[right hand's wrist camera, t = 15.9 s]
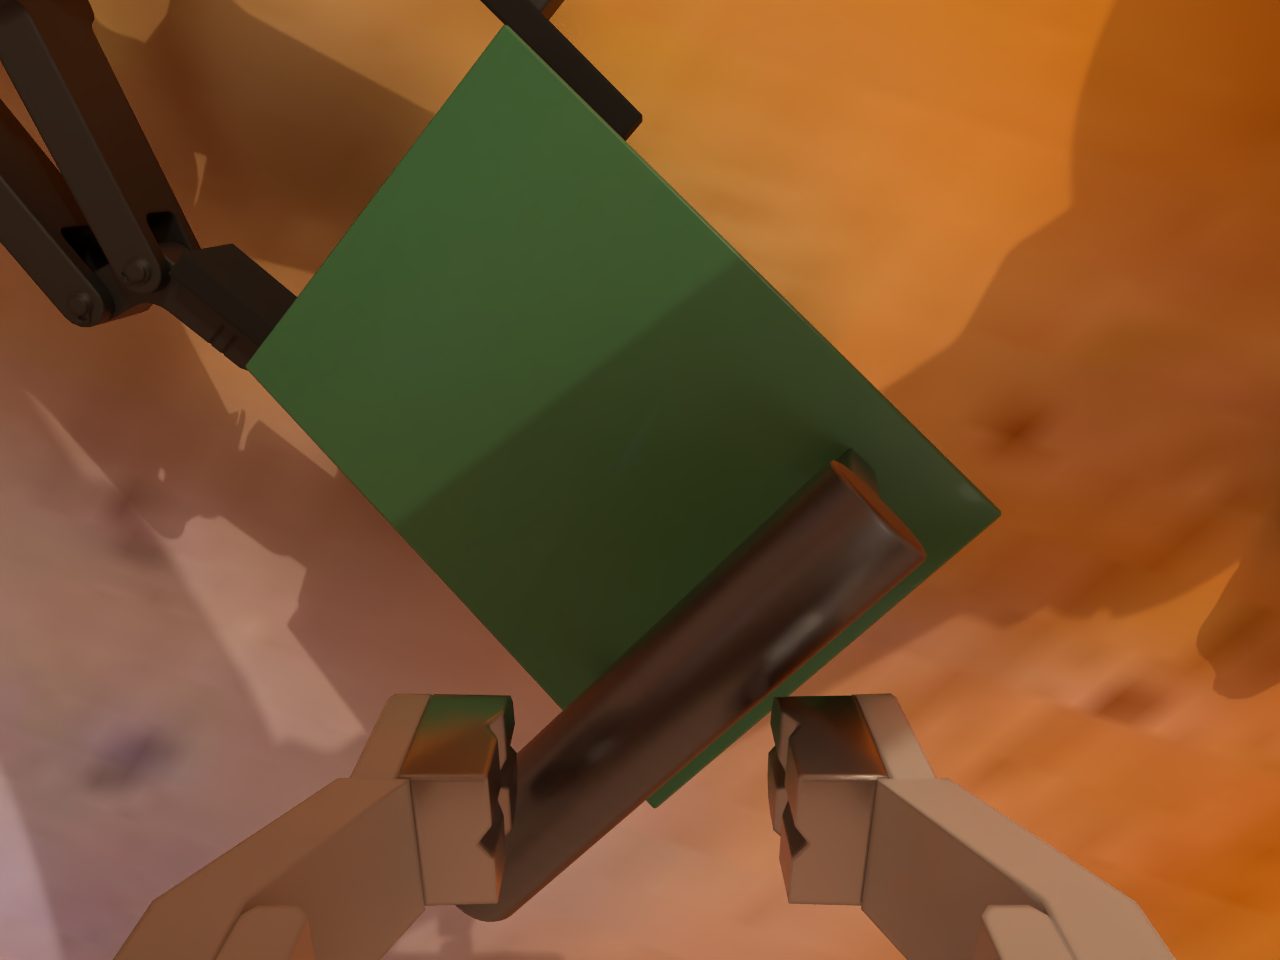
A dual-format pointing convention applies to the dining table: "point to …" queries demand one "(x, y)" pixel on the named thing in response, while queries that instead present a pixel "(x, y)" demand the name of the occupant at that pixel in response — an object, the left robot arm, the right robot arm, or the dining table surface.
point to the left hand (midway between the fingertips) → (505, 279)
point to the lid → (605, 446)
